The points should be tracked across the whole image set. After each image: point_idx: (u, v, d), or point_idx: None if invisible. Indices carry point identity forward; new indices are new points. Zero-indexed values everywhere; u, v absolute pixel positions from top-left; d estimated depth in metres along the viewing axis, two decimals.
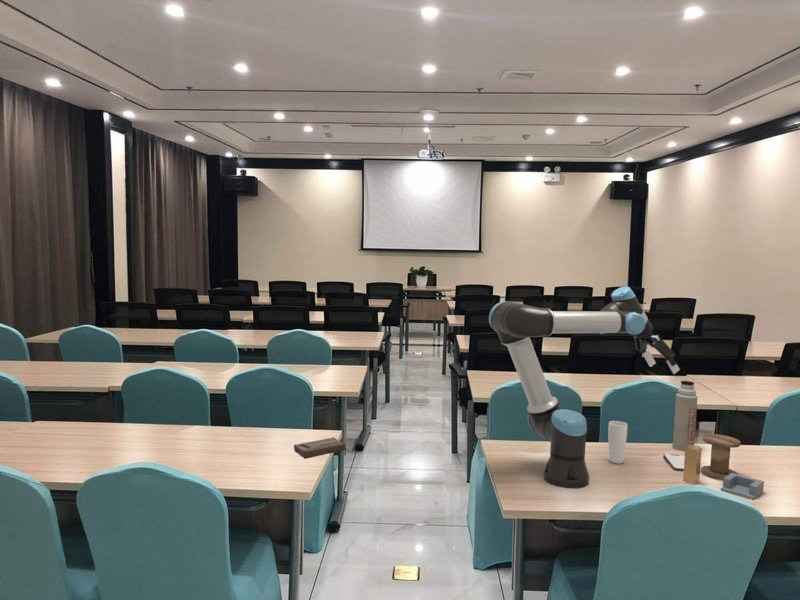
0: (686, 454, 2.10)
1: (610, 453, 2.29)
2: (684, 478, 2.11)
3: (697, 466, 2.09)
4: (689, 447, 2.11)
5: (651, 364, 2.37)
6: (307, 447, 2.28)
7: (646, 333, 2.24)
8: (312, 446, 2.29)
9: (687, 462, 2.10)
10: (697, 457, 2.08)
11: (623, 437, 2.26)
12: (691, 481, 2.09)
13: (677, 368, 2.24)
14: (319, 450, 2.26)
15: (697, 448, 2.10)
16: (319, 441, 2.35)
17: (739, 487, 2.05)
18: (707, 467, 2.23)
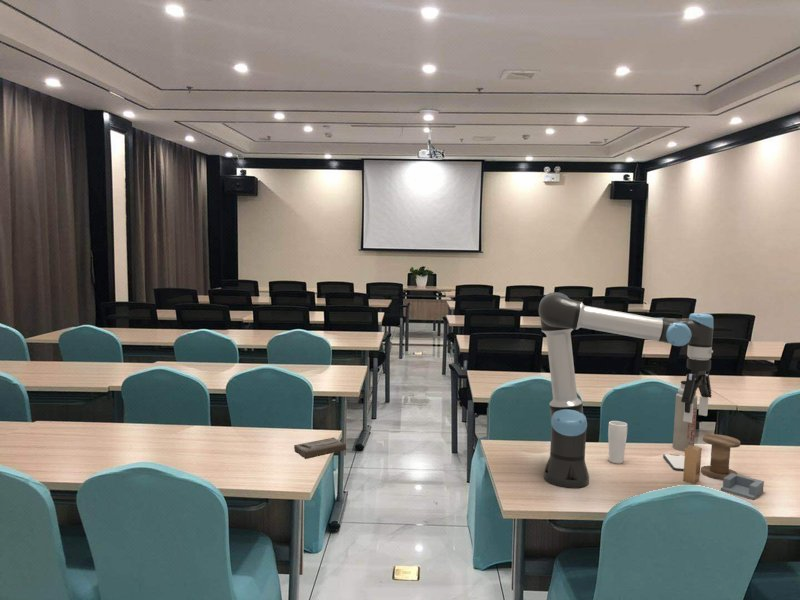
0: (686, 454, 2.10)
1: (610, 453, 2.29)
2: (684, 478, 2.11)
3: (697, 466, 2.09)
4: (689, 447, 2.11)
5: (700, 413, 2.15)
6: (308, 447, 2.28)
7: (691, 367, 2.07)
8: (312, 446, 2.29)
9: (687, 462, 2.10)
10: (697, 457, 2.08)
11: (623, 437, 2.26)
12: (691, 481, 2.09)
13: (689, 419, 2.04)
14: (320, 450, 2.26)
15: (697, 448, 2.10)
16: (319, 441, 2.35)
17: (739, 487, 2.05)
18: (707, 467, 2.23)
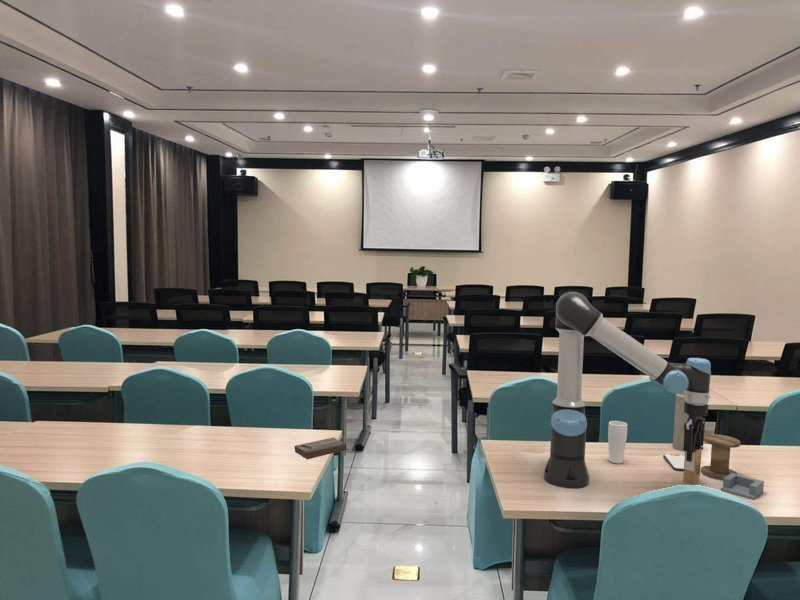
0: None
1: (610, 453, 2.29)
2: (684, 478, 2.11)
3: (697, 466, 2.09)
4: None
5: None
6: (308, 448, 2.27)
7: (688, 412, 2.08)
8: (313, 446, 2.29)
9: None
10: (697, 457, 2.08)
11: (623, 437, 2.26)
12: (691, 481, 2.09)
13: (691, 467, 2.09)
14: (321, 450, 2.26)
15: (697, 448, 2.10)
16: (319, 441, 2.35)
17: (739, 487, 2.05)
18: (707, 467, 2.23)
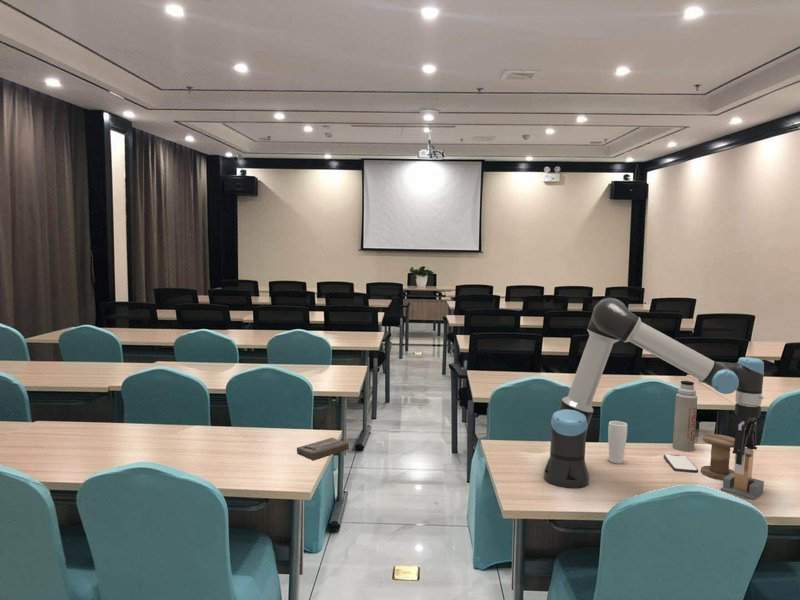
0: None
1: (610, 453, 2.29)
2: (735, 486, 2.03)
3: (749, 473, 2.01)
4: None
5: None
6: (312, 449, 2.26)
7: (740, 414, 2.00)
8: (317, 447, 2.28)
9: None
10: (749, 464, 2.00)
11: (623, 437, 2.26)
12: (743, 489, 2.01)
13: (741, 471, 1.99)
14: (326, 451, 2.25)
15: (749, 455, 2.02)
16: (320, 442, 2.34)
17: None
18: (707, 467, 2.23)
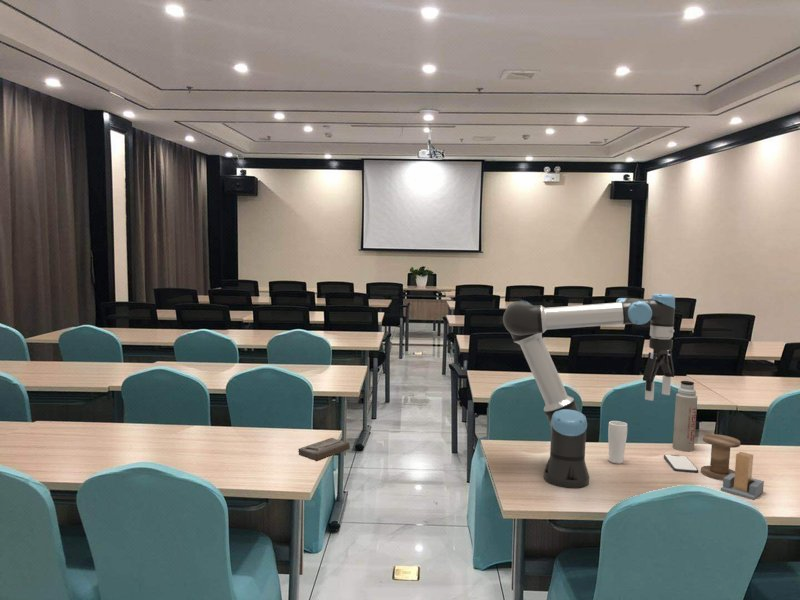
0: (737, 461, 2.02)
1: (610, 453, 2.29)
2: (735, 486, 2.03)
3: (749, 473, 2.01)
4: (740, 454, 2.03)
5: (663, 392, 2.18)
6: (315, 449, 2.25)
7: (653, 347, 2.10)
8: (319, 448, 2.27)
9: (739, 470, 2.02)
10: (749, 464, 2.00)
11: (623, 437, 2.26)
12: (743, 489, 2.01)
13: (650, 397, 2.08)
14: (328, 451, 2.25)
15: (749, 455, 2.02)
16: (321, 442, 2.33)
17: None
18: (707, 467, 2.23)
